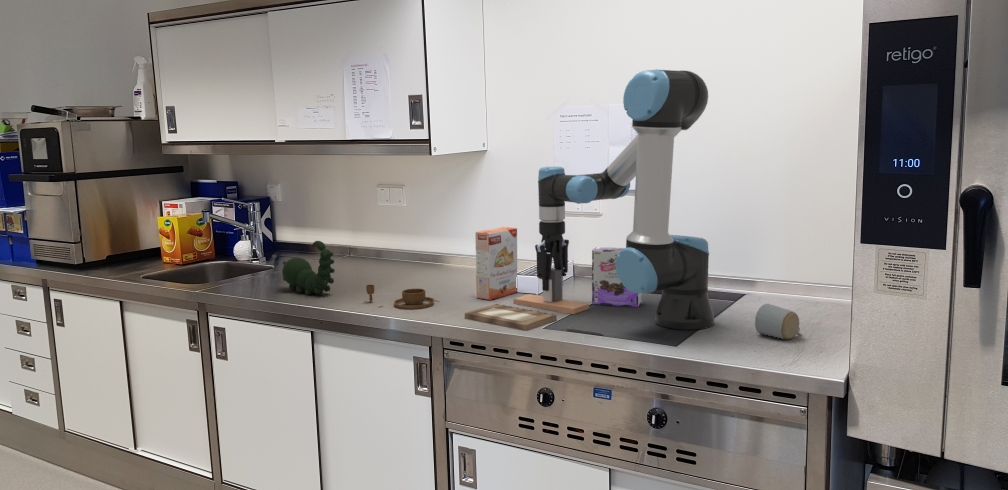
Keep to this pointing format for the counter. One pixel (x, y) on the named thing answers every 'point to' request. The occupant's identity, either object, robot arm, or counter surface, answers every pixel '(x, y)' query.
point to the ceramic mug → (777, 322)
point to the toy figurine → (309, 272)
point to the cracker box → (496, 262)
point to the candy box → (609, 280)
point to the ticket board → (510, 316)
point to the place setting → (407, 298)
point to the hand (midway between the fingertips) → (553, 299)
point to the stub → (553, 298)
